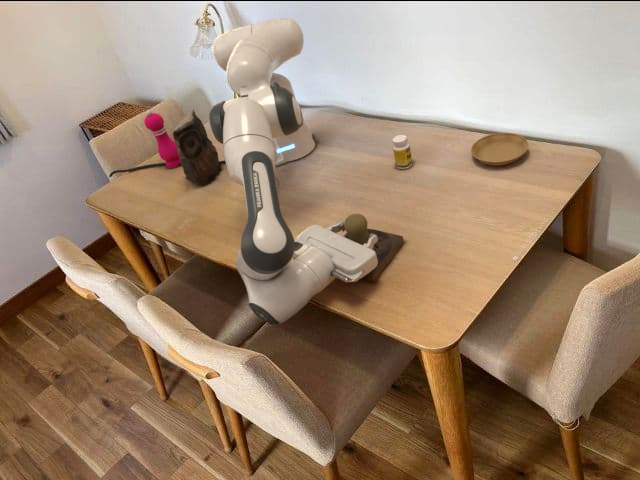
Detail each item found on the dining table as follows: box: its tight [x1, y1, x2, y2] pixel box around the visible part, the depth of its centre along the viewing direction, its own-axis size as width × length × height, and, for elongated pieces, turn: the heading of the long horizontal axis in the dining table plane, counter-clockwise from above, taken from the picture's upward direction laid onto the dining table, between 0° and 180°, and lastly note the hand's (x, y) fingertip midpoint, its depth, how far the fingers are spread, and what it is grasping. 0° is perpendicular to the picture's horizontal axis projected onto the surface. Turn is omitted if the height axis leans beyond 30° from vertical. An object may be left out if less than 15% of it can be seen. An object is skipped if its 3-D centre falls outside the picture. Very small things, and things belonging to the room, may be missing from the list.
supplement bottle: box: [392, 134, 413, 170], centre depth 139 cm, size 5×5×8 cm
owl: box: [172, 109, 222, 187], centre depth 156 cm, size 13×13×20 cm
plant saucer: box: [470, 132, 530, 167], centre depth 134 cm, size 15×15×3 cm
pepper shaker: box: [344, 213, 378, 252], centre depth 113 cm, size 6×6×11 cm
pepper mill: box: [143, 109, 181, 169], centre depth 168 cm, size 7×7×20 cm
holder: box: [342, 227, 405, 283], centre depth 116 cm, size 14×14×2 cm
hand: (359, 229), depth 113 cm, fingers open, 8 cm apart
